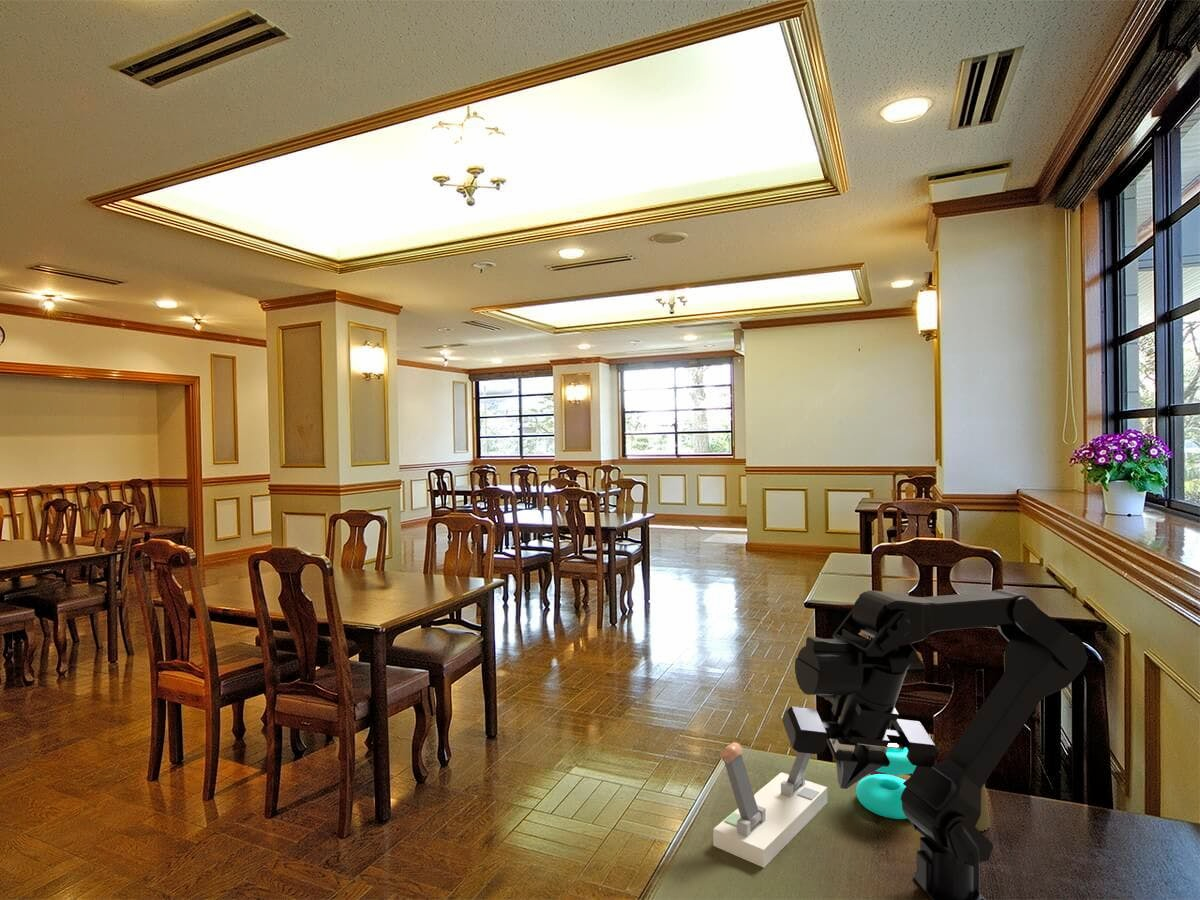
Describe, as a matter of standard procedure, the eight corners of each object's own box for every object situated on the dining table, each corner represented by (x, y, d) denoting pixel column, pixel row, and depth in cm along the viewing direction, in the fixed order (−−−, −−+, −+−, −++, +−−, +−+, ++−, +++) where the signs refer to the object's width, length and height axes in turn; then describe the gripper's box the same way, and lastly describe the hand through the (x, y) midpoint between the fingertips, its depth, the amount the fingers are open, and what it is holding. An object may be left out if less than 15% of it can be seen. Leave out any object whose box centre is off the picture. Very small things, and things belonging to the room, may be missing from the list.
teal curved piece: (918, 734, 114) (928, 761, 104) (918, 794, 114) (928, 827, 104) (854, 727, 116) (857, 753, 107) (854, 785, 117) (857, 817, 107)
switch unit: (827, 802, 111) (827, 776, 111) (763, 867, 95) (763, 836, 94) (781, 786, 116) (781, 761, 116) (713, 845, 100) (713, 816, 100)
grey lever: (801, 787, 112) (824, 728, 109) (793, 794, 109) (816, 734, 107) (790, 779, 113) (812, 721, 110) (782, 786, 110) (804, 727, 108)
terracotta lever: (764, 821, 100) (739, 741, 103) (754, 830, 98) (729, 748, 101) (752, 821, 102) (728, 742, 104) (742, 830, 99) (718, 749, 102)
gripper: (916, 660, 96) (885, 749, 101) (785, 644, 95) (760, 735, 100) (955, 715, 85) (919, 812, 90) (809, 698, 84) (780, 796, 89)
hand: (842, 786), depth 93 cm, fingers closed
